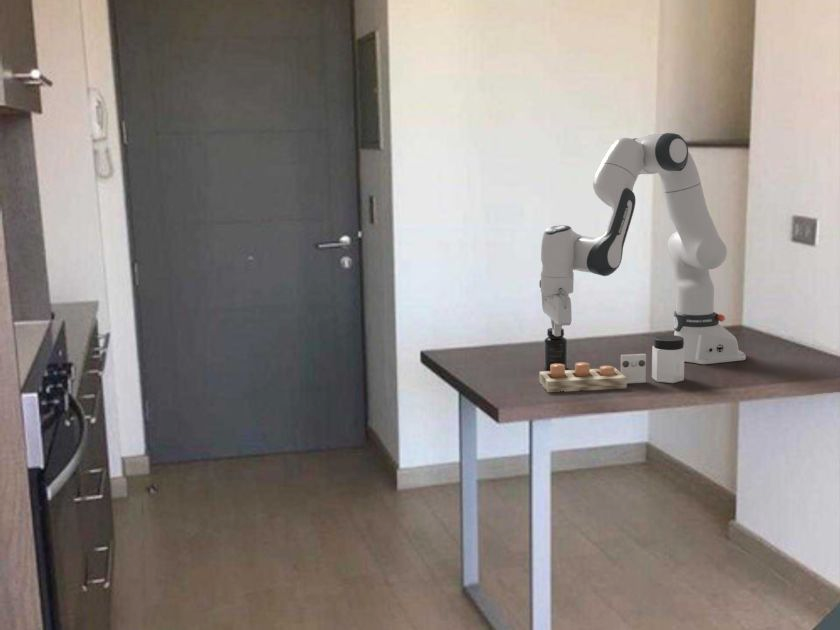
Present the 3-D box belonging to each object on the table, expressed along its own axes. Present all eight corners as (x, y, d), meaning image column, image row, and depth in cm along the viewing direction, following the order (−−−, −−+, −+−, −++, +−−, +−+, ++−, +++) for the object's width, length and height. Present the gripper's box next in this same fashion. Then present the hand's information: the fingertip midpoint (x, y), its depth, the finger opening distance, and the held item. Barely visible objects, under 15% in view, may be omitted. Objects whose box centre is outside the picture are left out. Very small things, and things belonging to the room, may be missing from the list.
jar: (668, 384, 274) (669, 342, 271) (645, 379, 280) (646, 337, 278) (689, 379, 279) (691, 337, 276) (667, 373, 285) (668, 333, 283)
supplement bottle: (543, 365, 298) (543, 326, 296) (566, 365, 298) (566, 326, 296) (545, 371, 291) (545, 331, 289) (568, 371, 291) (568, 331, 289)
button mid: (587, 372, 277) (587, 362, 277) (591, 376, 273) (591, 365, 273) (573, 373, 277) (573, 362, 276) (577, 376, 273) (577, 366, 273)
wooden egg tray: (615, 378, 282) (615, 367, 282) (626, 388, 271) (626, 377, 271) (539, 381, 280) (539, 371, 280) (547, 392, 270) (547, 381, 269)
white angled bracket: (642, 379, 280) (643, 352, 278) (646, 382, 277) (646, 354, 275) (618, 380, 279) (618, 353, 277) (621, 383, 276) (621, 355, 275)
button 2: (611, 375, 278) (612, 365, 278) (615, 379, 274) (616, 368, 274) (597, 376, 278) (598, 366, 277) (601, 380, 274) (601, 369, 273)
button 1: (562, 373, 277) (563, 363, 276) (566, 377, 273) (566, 366, 272) (548, 374, 276) (548, 363, 276) (552, 378, 273) (552, 367, 272)
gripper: (577, 291, 260) (576, 343, 263) (560, 279, 280) (559, 327, 283) (554, 292, 259) (553, 343, 262) (538, 280, 279) (537, 328, 282)
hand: (556, 335), depth 272 cm, fingers closed
